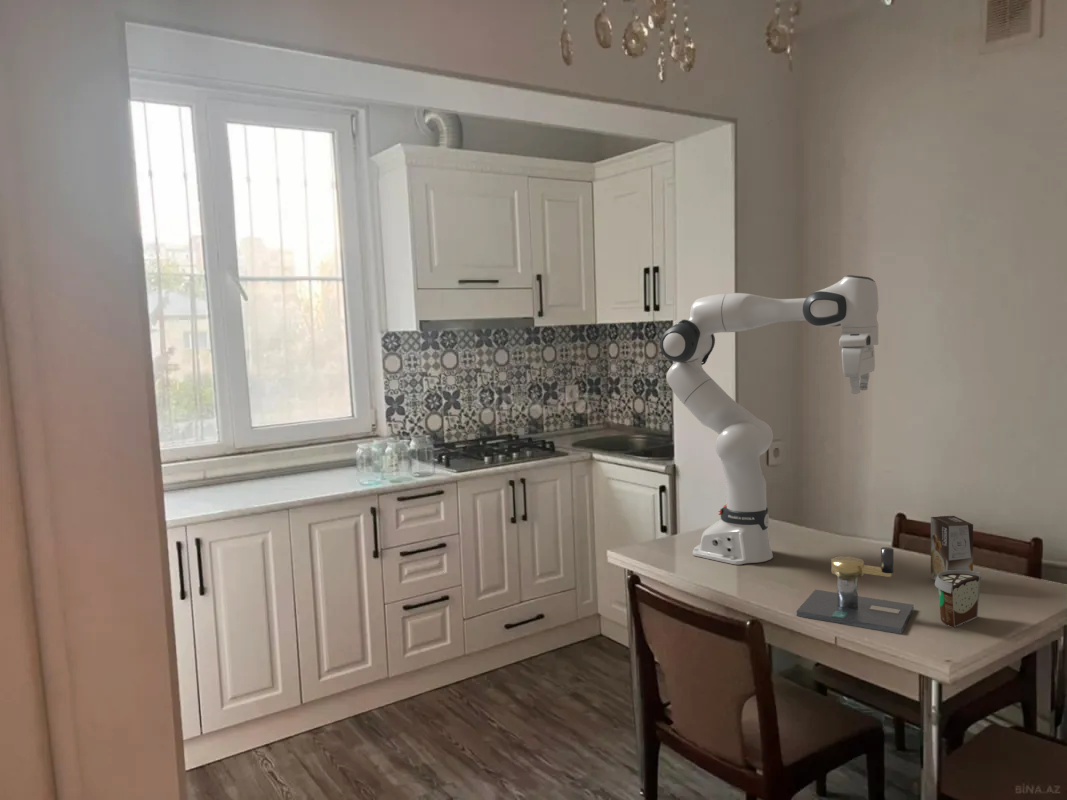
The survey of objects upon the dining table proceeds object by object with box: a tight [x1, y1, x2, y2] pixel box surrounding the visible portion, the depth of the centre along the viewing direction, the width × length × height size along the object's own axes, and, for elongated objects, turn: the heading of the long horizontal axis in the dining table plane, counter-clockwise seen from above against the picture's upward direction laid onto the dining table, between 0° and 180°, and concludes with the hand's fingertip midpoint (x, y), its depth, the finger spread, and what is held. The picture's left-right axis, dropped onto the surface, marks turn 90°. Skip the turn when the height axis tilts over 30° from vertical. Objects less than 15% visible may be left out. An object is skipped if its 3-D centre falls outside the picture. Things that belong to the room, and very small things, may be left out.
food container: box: [934, 570, 982, 628], centre depth 173 cm, size 12×6×10 cm, turn 123°
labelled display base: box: [796, 576, 915, 635], centre depth 178 cm, size 22×16×8 cm
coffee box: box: [930, 515, 974, 582], centre depth 195 cm, size 9×6×16 cm
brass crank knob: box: [830, 546, 895, 578], centre depth 178 cm, size 13×7×7 cm, turn 55°
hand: (859, 391), depth 202 cm, fingers open, 8 cm apart
